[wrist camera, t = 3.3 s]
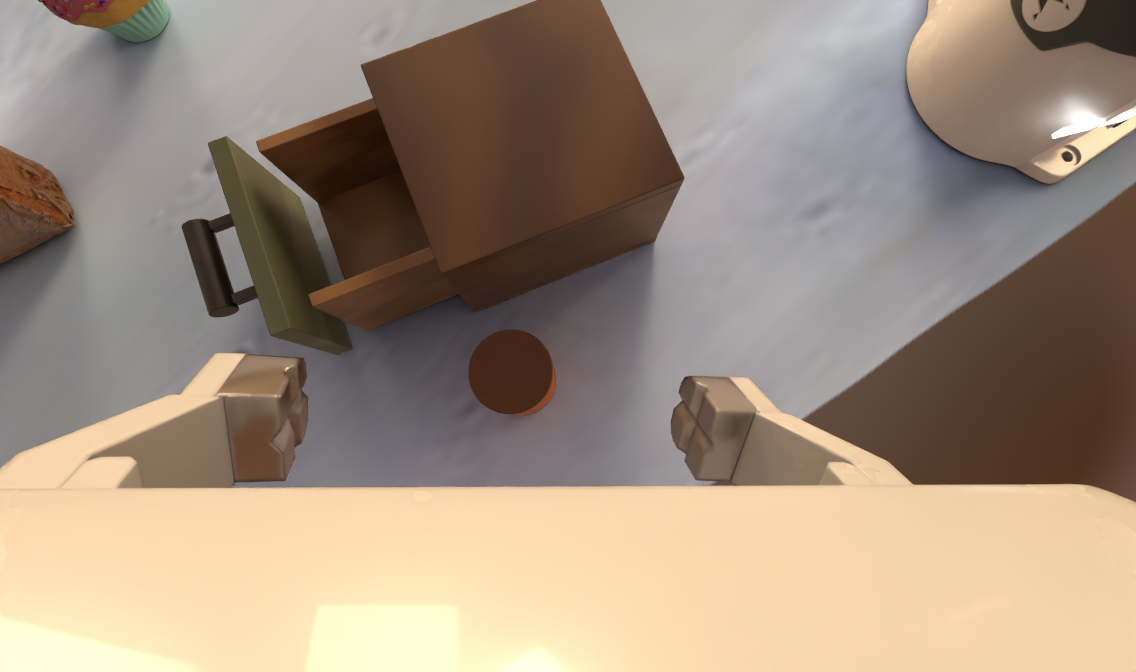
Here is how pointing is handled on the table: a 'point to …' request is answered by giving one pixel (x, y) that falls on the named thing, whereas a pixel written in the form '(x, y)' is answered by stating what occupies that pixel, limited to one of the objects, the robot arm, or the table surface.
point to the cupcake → (115, 16)
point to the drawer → (286, 243)
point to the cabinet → (526, 147)
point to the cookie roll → (512, 373)
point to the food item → (29, 205)
